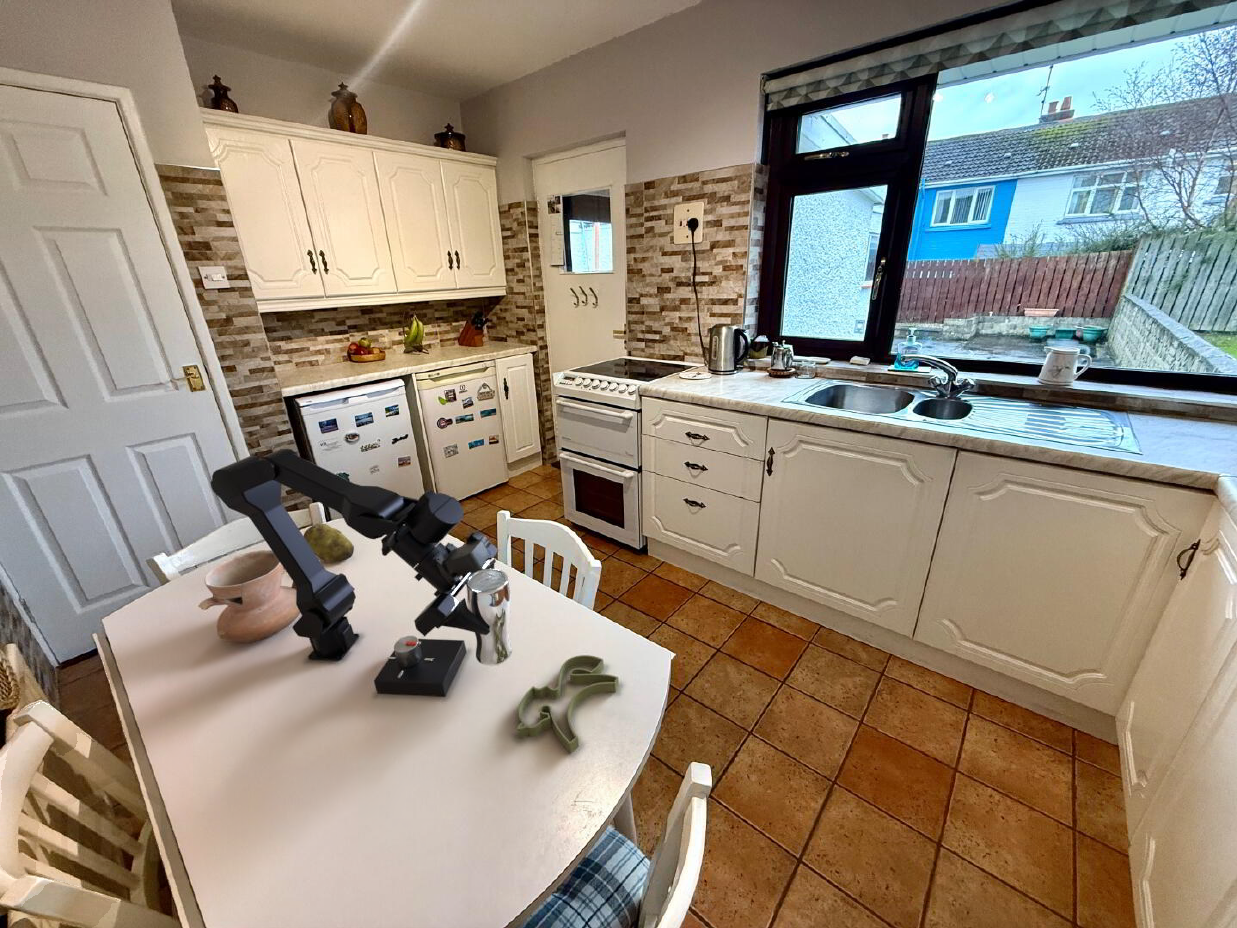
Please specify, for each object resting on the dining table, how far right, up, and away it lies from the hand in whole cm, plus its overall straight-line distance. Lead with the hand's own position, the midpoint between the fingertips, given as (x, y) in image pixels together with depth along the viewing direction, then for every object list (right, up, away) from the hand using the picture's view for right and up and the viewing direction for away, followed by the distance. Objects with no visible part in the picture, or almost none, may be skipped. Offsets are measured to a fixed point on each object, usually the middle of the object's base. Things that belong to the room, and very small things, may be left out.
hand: (497, 618), depth 80 cm
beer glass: (-1, -7, +3) cm, 8 cm away
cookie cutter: (+12, -14, 0) cm, 18 cm away
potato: (-52, +2, +41) cm, 67 cm away
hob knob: (-17, -9, +5) cm, 20 cm away
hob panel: (-15, -12, +6) cm, 20 cm away
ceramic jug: (-52, -7, +19) cm, 56 cm away
